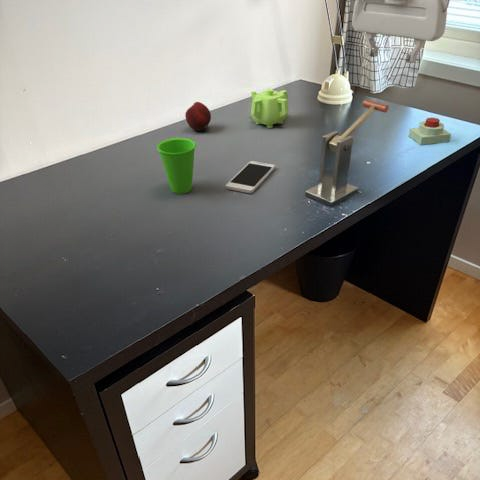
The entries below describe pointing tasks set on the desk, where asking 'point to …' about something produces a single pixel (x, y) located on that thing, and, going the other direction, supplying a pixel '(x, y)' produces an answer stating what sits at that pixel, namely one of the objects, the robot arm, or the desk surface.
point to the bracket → (333, 172)
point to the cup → (178, 163)
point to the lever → (358, 121)
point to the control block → (429, 134)
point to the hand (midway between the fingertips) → (391, 59)
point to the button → (432, 122)
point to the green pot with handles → (269, 107)
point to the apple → (198, 116)
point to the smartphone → (250, 177)
